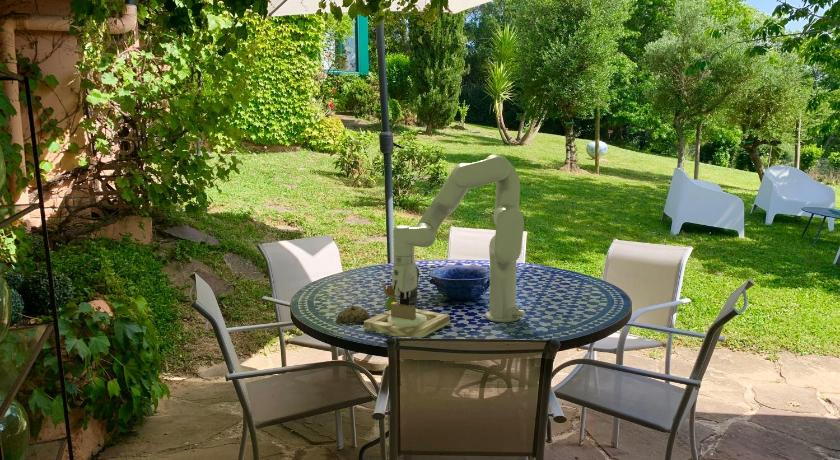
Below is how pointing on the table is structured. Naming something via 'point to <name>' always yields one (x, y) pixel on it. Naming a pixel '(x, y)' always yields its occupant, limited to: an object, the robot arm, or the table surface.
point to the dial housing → (382, 325)
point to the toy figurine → (390, 294)
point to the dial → (405, 316)
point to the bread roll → (352, 315)
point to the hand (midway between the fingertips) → (404, 308)
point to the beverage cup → (414, 292)
